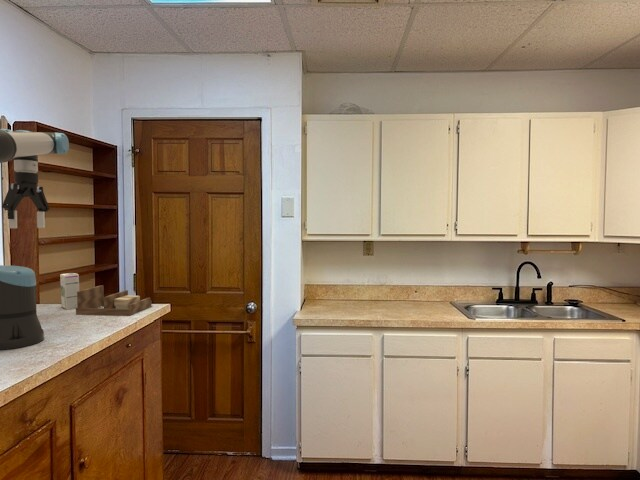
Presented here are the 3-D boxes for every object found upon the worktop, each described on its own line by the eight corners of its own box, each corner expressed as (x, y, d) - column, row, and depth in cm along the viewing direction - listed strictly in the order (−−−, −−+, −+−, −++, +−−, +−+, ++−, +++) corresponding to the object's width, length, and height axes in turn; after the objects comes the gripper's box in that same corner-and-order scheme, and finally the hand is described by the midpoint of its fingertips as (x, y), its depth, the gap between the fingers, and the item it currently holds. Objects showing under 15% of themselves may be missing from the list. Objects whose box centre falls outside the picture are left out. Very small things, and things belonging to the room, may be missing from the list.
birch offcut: (127, 307, 168) (127, 299, 167) (114, 306, 169) (114, 298, 169) (140, 303, 175) (139, 295, 175) (127, 302, 177) (127, 295, 177)
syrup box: (80, 307, 178) (79, 273, 178) (64, 309, 174) (64, 275, 173) (75, 305, 182) (75, 272, 182) (60, 307, 178) (59, 273, 177)
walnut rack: (129, 315, 163) (128, 293, 163) (75, 314, 165) (75, 292, 165) (151, 306, 181) (151, 285, 181) (103, 305, 183) (102, 284, 183)
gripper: (8, 168, 147) (9, 228, 148) (58, 176, 172) (59, 227, 172) (-12, 168, 147) (-10, 228, 148) (41, 176, 172) (42, 227, 173)
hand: (27, 228), depth 160 cm, fingers open, 13 cm apart
